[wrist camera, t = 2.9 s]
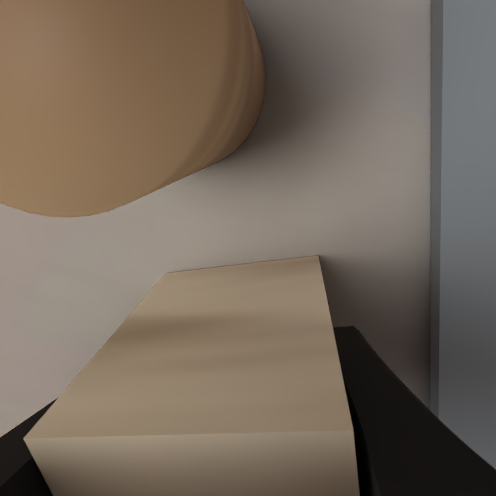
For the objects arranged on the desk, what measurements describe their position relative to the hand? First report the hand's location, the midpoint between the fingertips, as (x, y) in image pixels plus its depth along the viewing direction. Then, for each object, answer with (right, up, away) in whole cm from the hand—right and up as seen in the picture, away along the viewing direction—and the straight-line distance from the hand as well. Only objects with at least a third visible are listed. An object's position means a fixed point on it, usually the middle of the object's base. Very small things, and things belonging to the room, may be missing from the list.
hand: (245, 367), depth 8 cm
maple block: (0, +1, +2) cm, 2 cm away
